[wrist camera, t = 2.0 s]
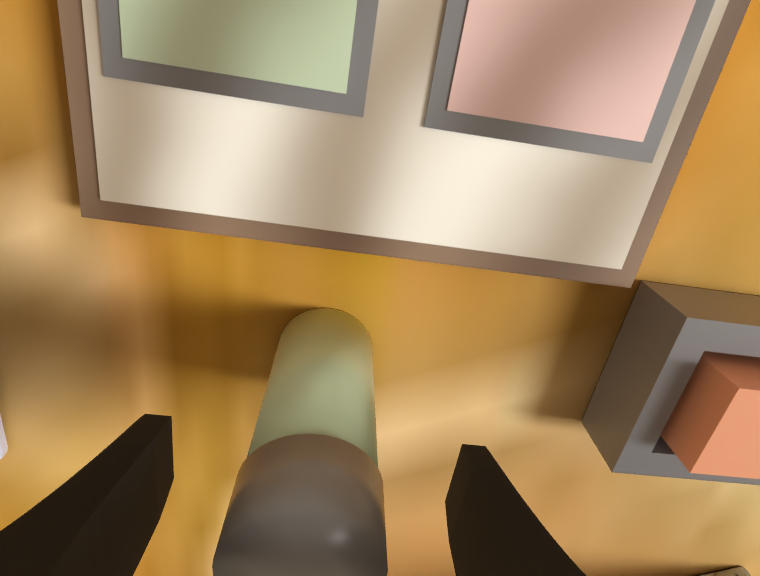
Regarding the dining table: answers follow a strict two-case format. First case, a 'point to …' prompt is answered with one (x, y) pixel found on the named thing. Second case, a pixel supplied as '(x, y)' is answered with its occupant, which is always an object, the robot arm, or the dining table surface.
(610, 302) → the dining table surface
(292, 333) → the sage marker
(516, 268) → the colouring board
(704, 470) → the button
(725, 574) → the coffee box
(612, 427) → the button housing
